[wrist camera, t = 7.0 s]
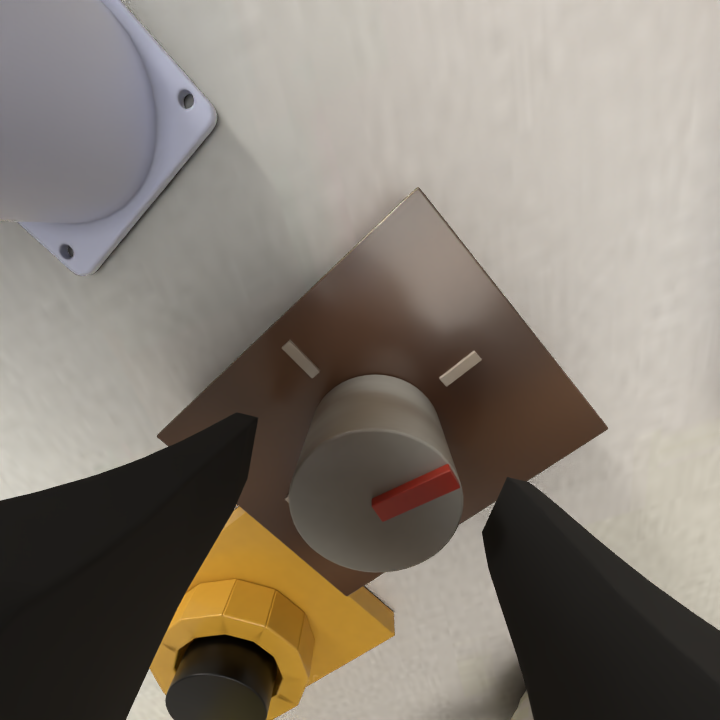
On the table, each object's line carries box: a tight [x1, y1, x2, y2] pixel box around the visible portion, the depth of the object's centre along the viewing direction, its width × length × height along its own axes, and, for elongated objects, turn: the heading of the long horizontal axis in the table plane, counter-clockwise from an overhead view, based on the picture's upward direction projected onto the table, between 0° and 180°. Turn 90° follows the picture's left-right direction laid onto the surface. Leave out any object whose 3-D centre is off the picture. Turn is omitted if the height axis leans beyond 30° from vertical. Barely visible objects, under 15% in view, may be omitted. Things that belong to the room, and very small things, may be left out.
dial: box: [289, 375, 463, 572], centre depth 11 cm, size 4×4×4 cm
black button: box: [166, 634, 277, 720], centre depth 17 cm, size 4×4×2 cm
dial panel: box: [157, 187, 608, 596], centre depth 14 cm, size 10×12×3 cm
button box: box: [149, 506, 395, 720], centre depth 18 cm, size 10×12×3 cm
